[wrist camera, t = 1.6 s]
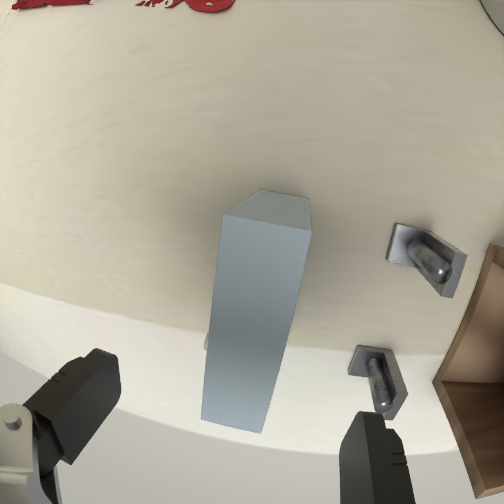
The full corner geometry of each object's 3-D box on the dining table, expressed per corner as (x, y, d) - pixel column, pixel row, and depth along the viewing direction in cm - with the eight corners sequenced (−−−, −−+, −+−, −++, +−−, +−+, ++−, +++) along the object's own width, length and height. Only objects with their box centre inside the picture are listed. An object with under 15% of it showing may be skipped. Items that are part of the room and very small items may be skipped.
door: (244, 186, 19) (195, 209, 11) (308, 198, 19) (312, 231, 10) (224, 326, 22) (181, 413, 14) (278, 338, 22) (260, 433, 13)
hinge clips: (395, 222, 18) (422, 243, 13) (432, 232, 18) (467, 255, 13) (347, 370, 22) (353, 417, 17) (381, 375, 21) (392, 420, 17)
